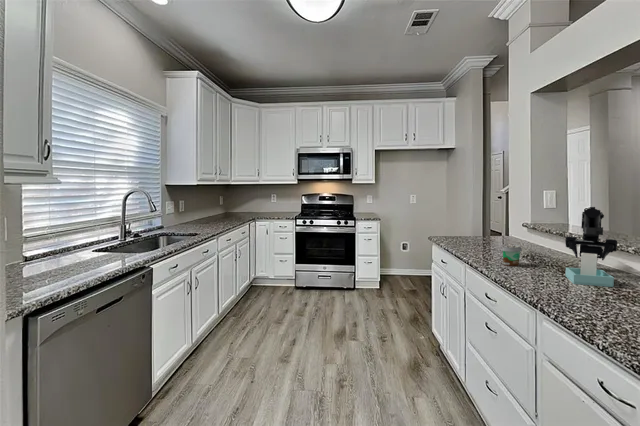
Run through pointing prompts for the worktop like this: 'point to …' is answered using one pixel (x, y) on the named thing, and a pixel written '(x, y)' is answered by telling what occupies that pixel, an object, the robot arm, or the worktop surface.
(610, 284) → the crate
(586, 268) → the white hollow square box
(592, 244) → the robot arm
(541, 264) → the worktop surface
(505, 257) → the food container
